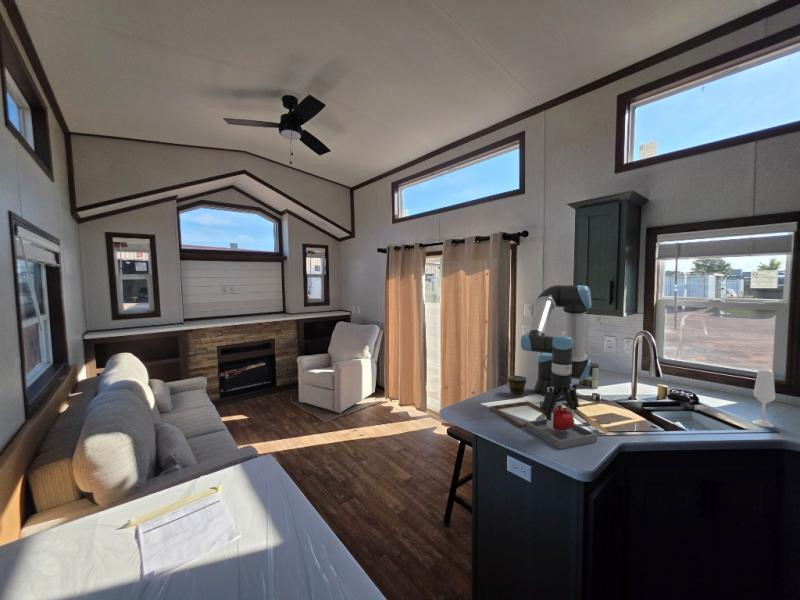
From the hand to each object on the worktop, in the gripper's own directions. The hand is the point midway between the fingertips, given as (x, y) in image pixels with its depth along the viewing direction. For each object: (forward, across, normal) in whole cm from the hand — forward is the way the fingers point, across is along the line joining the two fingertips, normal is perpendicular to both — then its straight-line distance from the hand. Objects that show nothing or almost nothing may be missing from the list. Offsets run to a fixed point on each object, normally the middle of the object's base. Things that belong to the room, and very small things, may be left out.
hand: (560, 425), depth 138 cm
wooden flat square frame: (+4, 0, +22) cm, 22 cm away
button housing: (+4, +16, +22) cm, 27 cm away
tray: (+4, 0, 0) cm, 4 cm away
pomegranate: (+1, 0, 0) cm, 1 cm away
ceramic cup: (+4, +14, +47) cm, 49 cm away
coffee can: (+4, +68, +46) cm, 82 cm away
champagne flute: (+4, +97, -20) cm, 99 cm away
